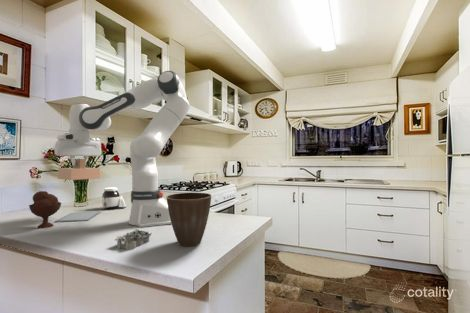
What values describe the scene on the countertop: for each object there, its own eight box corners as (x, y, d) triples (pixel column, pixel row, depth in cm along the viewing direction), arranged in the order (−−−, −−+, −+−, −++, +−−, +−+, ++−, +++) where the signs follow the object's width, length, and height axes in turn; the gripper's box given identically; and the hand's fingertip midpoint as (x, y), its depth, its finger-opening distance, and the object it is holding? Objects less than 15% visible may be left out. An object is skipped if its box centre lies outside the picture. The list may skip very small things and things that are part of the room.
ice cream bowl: (44, 230, 100) (44, 193, 100) (21, 229, 102) (21, 192, 103) (67, 224, 111) (67, 189, 111) (46, 222, 113) (46, 189, 113)
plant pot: (204, 252, 77) (204, 199, 77) (158, 249, 79) (158, 198, 79) (216, 237, 92) (216, 193, 92) (177, 235, 94) (176, 192, 94)
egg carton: (129, 251, 79) (129, 238, 79) (112, 248, 82) (112, 235, 82) (153, 241, 89) (153, 229, 88) (137, 238, 92) (137, 227, 92)
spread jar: (100, 208, 145) (100, 187, 145) (119, 205, 154) (119, 186, 154) (109, 211, 137) (109, 189, 137) (129, 207, 146) (129, 187, 146)
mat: (101, 212, 134) (101, 211, 134) (88, 220, 116) (88, 219, 116) (71, 213, 131) (71, 212, 131) (54, 222, 113) (54, 221, 113)
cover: (86, 177, 133) (86, 158, 133) (99, 178, 125) (99, 159, 125) (58, 178, 122) (58, 158, 122) (70, 179, 115) (71, 158, 115)
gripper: (97, 138, 134) (97, 164, 134) (53, 135, 117) (52, 165, 117) (104, 138, 131) (103, 165, 131) (59, 135, 114) (58, 166, 114)
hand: (79, 165), depth 124 cm, fingers closed on cover, 3 cm apart
